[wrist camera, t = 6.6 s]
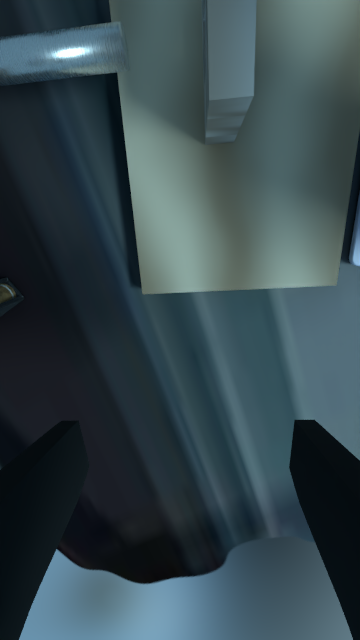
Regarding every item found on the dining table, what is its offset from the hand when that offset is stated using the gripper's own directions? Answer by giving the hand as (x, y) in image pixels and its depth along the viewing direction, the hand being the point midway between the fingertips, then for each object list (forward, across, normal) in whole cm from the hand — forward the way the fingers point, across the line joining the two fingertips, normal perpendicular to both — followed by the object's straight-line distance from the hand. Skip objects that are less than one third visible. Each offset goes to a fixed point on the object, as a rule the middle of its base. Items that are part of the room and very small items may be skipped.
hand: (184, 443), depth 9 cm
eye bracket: (+10, -2, -14) cm, 18 cm away
